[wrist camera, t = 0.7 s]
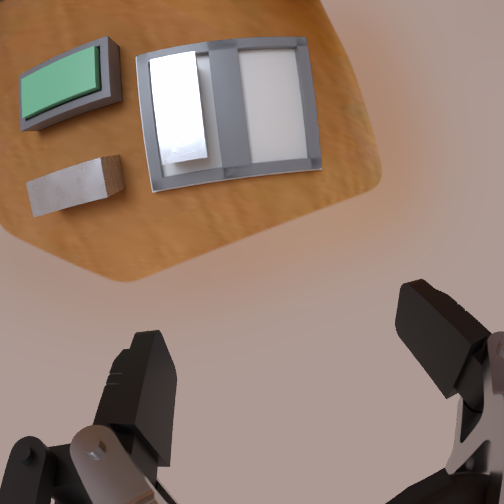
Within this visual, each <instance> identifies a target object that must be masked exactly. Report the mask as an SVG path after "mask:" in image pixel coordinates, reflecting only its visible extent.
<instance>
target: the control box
mask: <svg viewBox="0 0 504 504" xmlns="http://www.w3.org/2000/svg"><path fill="white" fill-rule="evenodd" d="M92 46H95V47H97V48H98V49H99V55H100V79H101V90H98V91H95V92H92V93H89V94H86V95H84V96H81V97H78V98H76V99H73V100H70V101H68V102H65V103H63V104H60V105H58V106H56V107H53V108H51V109H49V110H46V111H44V112H42V113H40V114H38V115H36V116H33V117H31V118H22V98H21V79H23V78H25V77H26V76H28V75H30V74H32V73H34V72H36V71H38V70H40V69H42V68H44V67H46V66H48V65H50V64H52V63H54V62H56V61H58V60H60V59H63V58H65V57H67V56H70V55H72V54H74V53H77V52H79V51H82V50H84V49H87V48H90V47H92ZM120 101H123V100H122V89H121V75H120V58H119V46H118V45H117V44H116V43H115V42H114V41H113V40H112V39H111V38H110V37H109V36H106V37H103V38H100V39H97V40H94V41H92V42H89V43H86V44H84V45H81V46H79V47H76V48H74V49H72V50H69V51H67V52H65V53H62V54H60V55H58V56H56V57H54V58H52V59H50V60H47V61H45V62H43V63H41V64H40V65H38V66H36V67H34V68H32V69H30V70H28V71H26V72H25V73H23V74H21V75H19V111H20V127H21V131H39V130H41V129H44V128H46V127H48V126H51V125H53V124H56V123H58V122H61V121H63V120H66V119H69V118H71V117H74V116H77V115H79V114H82V113H85V112H88V111H91V110H94V109H97V108H100V107H103V106H107V105H110V104H113V103H117V102H120Z"/></svg>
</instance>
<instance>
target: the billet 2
mask: <svg viewBox="0 0 504 504" xmlns="http://www.w3.org/2000/svg"><path fill="white" fill-rule="evenodd" d="M150 68H151V79H152V90H153V100H154V109H155V117H156V125H157V133H158V140H159V147H160V154H161V161H162V165H165V164H171V163H176V162H182V161H187V160H193V159H199V158H206V157H208V156H209V148H208V141H207V133H206V125H205V117H204V109H203V101H202V92H201V84H200V75H199V67H198V63H197V59H196V55H195V51H193V52H187V53H181V54H176V55H170V56H166V57H161V58H156V59H152V60H150Z"/></svg>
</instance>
